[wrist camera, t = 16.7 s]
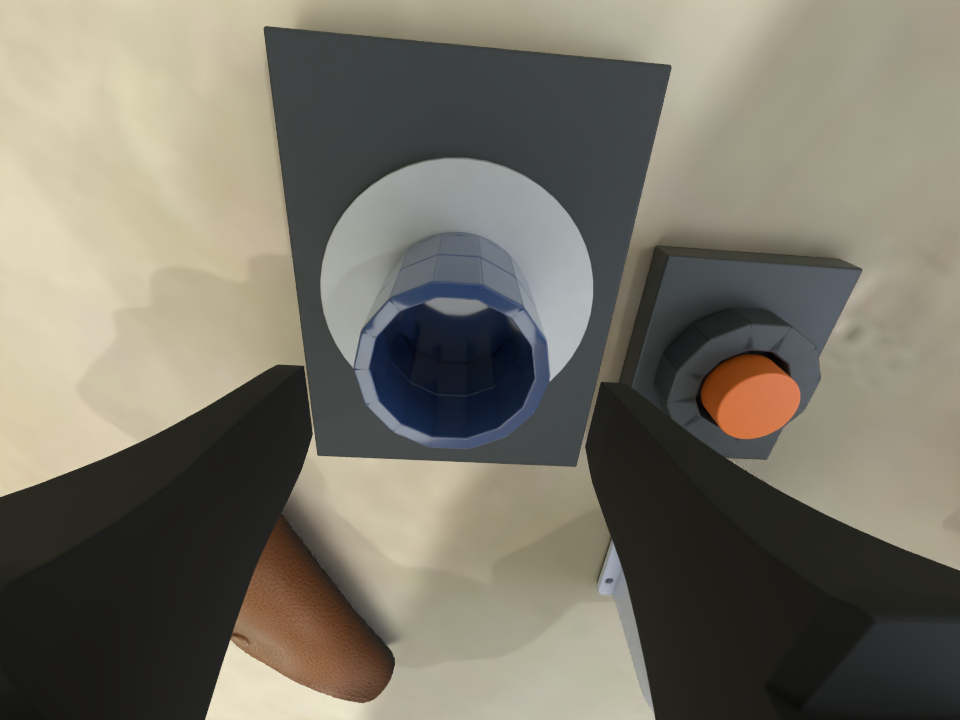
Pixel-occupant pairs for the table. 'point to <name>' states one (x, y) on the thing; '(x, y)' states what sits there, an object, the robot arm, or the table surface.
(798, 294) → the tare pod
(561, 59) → the scale
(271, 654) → the sunglasses case
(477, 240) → the blue cup
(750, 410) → the button
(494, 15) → the table surface
